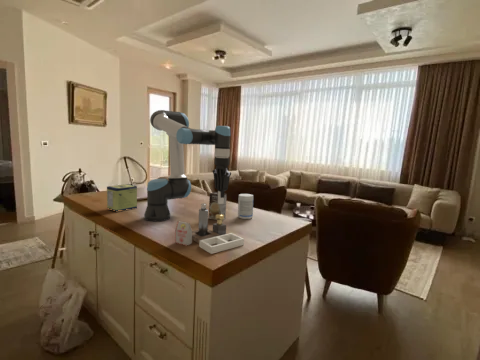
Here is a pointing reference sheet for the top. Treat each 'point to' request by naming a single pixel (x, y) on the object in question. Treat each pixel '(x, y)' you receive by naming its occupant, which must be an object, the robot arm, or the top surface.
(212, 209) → the coffee box
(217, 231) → the socket
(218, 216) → the release key
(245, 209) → the supplement tub
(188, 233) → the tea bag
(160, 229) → the top surface
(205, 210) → the grey bottle
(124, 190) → the protein box
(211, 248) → the tray
